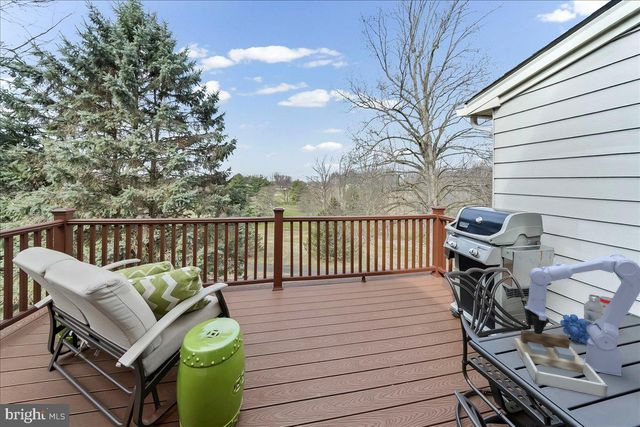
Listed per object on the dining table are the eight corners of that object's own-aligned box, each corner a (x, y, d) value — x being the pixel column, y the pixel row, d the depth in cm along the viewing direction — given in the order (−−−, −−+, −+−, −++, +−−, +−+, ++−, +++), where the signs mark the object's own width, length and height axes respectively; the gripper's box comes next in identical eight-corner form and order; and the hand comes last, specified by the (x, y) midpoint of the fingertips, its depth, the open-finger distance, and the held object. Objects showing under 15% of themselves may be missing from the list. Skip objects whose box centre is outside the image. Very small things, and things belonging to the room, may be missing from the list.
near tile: (568, 353, 117) (569, 348, 116) (574, 360, 112) (575, 355, 112) (553, 350, 118) (553, 346, 118) (558, 358, 114) (559, 353, 113)
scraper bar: (565, 346, 121) (566, 336, 121) (568, 350, 119) (570, 340, 118) (520, 339, 127) (521, 329, 126) (522, 342, 124) (523, 332, 123)
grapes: (555, 338, 134) (558, 313, 132) (560, 333, 138) (563, 309, 136) (589, 350, 124) (592, 323, 123) (593, 345, 128) (596, 319, 127)
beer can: (616, 334, 137) (620, 301, 135) (600, 333, 138) (604, 300, 136) (606, 327, 143) (610, 296, 141) (591, 326, 144) (595, 295, 142)
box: (586, 373, 109) (587, 363, 109) (606, 397, 97) (607, 386, 97) (523, 361, 116) (524, 352, 116) (534, 382, 104) (535, 372, 104)
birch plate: (570, 353, 122) (570, 346, 121) (586, 373, 109) (587, 365, 109) (514, 344, 128) (514, 337, 128) (523, 361, 116) (524, 354, 116)
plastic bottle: (575, 334, 137) (580, 293, 134) (589, 334, 137) (594, 293, 135) (589, 342, 130) (594, 299, 128) (603, 341, 131) (609, 298, 128)
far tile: (541, 348, 120) (542, 344, 119) (546, 355, 115) (546, 351, 115) (527, 346, 121) (527, 341, 121) (531, 353, 117) (531, 348, 116)
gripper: (520, 290, 128) (517, 319, 130) (531, 303, 114) (529, 336, 116) (539, 292, 126) (536, 322, 127) (553, 305, 112) (550, 339, 114)
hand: (534, 329), depth 122 cm, fingers open, 7 cm apart
